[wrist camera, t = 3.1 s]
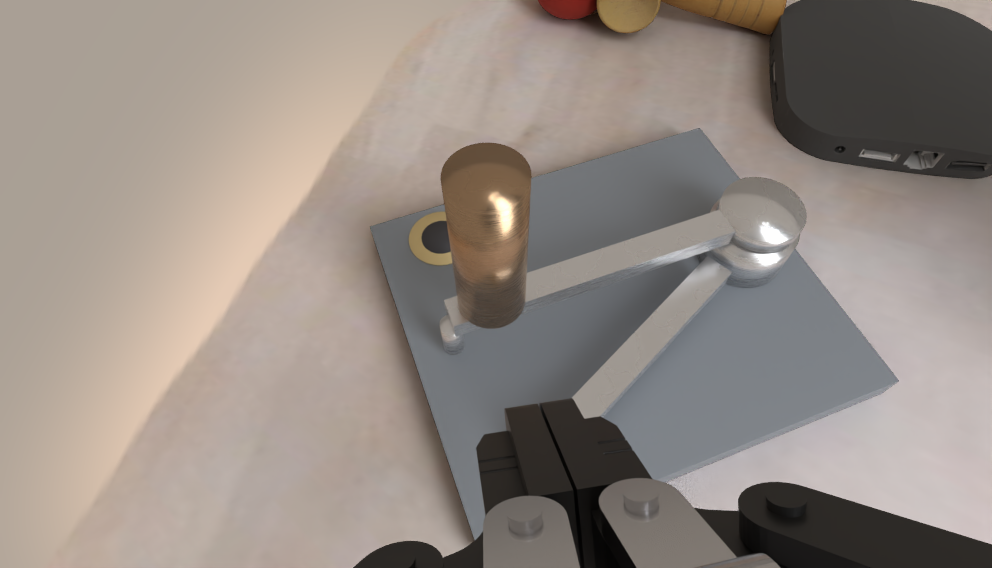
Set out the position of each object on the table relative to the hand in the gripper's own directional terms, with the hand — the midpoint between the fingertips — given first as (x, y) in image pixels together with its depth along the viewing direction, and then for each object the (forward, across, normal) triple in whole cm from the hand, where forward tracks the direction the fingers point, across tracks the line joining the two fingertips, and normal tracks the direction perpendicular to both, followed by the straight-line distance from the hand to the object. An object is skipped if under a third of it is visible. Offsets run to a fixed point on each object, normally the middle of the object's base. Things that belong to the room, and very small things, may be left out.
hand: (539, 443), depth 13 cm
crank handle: (+17, -7, +2) cm, 19 cm away
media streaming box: (+29, -29, -6) cm, 41 cm away
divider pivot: (+16, -8, +4) cm, 18 cm away
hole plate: (+19, -7, +3) cm, 20 cm away
